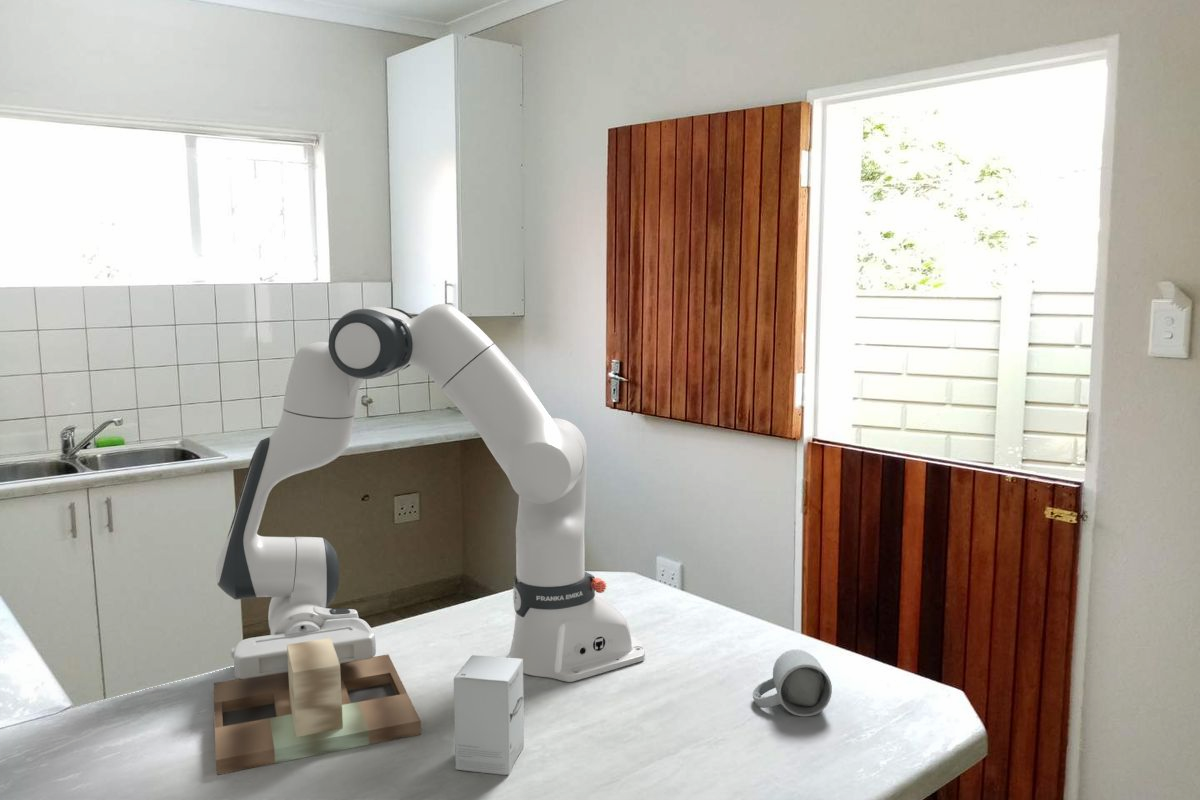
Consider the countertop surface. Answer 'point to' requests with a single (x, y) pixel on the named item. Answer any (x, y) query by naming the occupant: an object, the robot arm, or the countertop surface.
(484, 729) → the supplement box
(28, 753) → the countertop surface
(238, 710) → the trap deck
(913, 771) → the countertop surface
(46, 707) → the countertop surface
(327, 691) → the birch block
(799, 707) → the ceramic mug
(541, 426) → the robot arm
